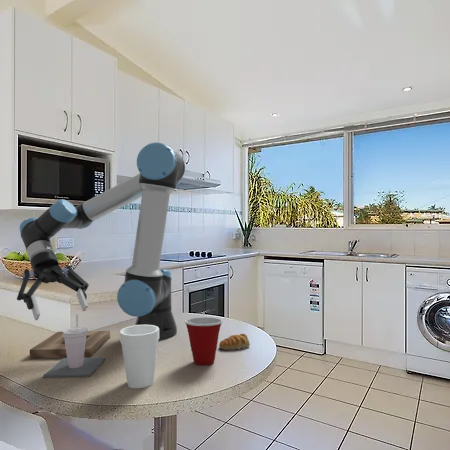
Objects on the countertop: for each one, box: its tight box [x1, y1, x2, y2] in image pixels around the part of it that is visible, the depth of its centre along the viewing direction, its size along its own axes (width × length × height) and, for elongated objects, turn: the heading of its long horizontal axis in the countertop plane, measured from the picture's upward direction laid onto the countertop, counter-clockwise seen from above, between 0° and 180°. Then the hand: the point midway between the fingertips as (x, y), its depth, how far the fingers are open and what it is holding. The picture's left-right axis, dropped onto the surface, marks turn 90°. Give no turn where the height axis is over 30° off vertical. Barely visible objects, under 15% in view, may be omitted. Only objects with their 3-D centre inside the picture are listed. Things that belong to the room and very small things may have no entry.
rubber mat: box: [42, 356, 106, 378], centre depth 99 cm, size 12×12×1 cm
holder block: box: [29, 330, 111, 359], centre depth 116 cm, size 18×18×2 cm
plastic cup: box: [184, 316, 223, 367], centre depth 102 cm, size 11×11×12 cm
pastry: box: [218, 333, 251, 351], centre depth 114 cm, size 9×7×4 cm
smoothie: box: [62, 313, 89, 368], centre depth 99 cm, size 6×6×14 cm
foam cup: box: [119, 324, 160, 389], centre depth 89 cm, size 10×9×13 cm
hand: (62, 312), depth 105 cm, fingers open, 13 cm apart
